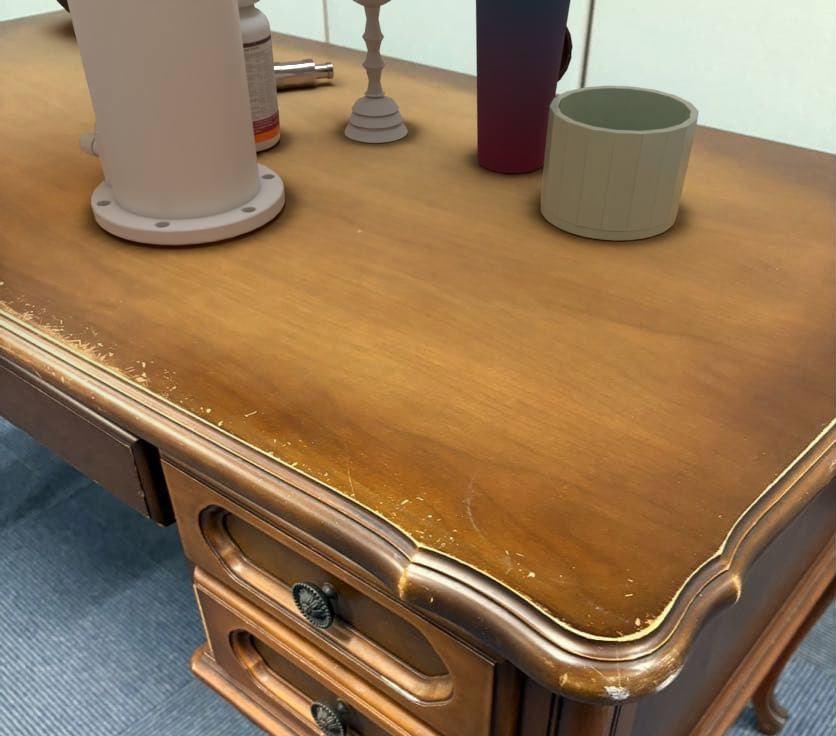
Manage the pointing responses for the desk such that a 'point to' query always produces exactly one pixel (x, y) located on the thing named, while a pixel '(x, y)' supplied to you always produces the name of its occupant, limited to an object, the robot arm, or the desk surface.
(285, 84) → the pipe fitting
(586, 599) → the desk surface
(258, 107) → the pill bottle
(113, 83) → the robot arm
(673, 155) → the open cylindrical container
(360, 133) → the chalice
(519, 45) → the cup
